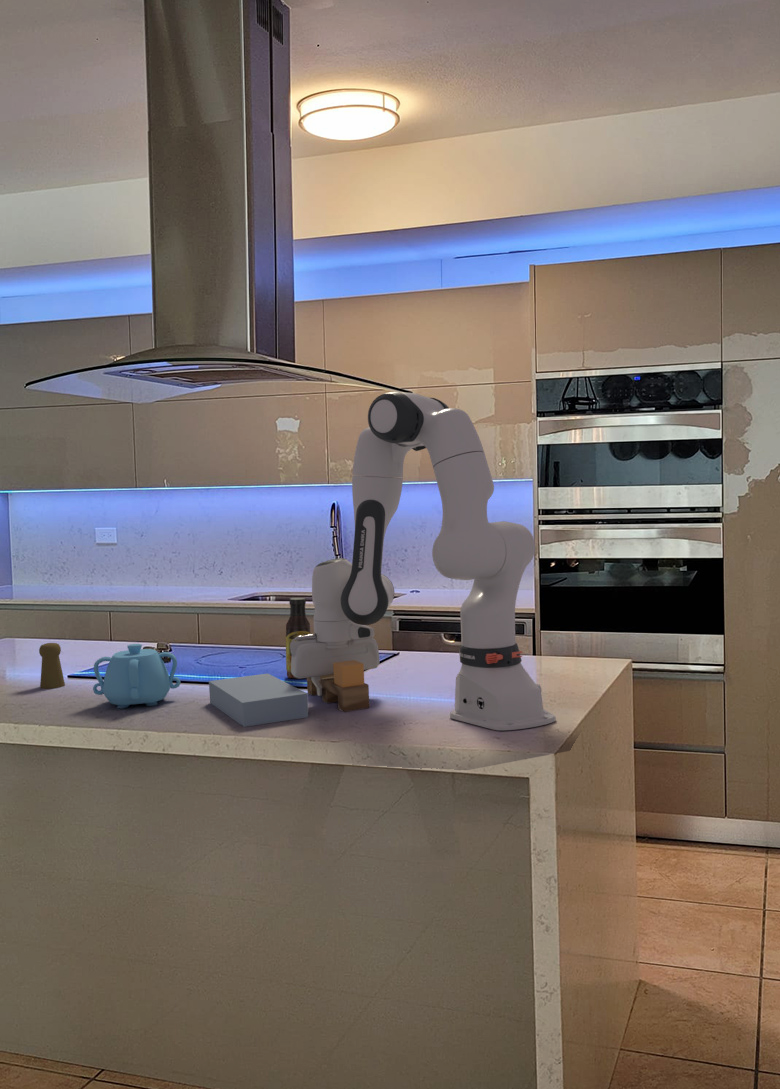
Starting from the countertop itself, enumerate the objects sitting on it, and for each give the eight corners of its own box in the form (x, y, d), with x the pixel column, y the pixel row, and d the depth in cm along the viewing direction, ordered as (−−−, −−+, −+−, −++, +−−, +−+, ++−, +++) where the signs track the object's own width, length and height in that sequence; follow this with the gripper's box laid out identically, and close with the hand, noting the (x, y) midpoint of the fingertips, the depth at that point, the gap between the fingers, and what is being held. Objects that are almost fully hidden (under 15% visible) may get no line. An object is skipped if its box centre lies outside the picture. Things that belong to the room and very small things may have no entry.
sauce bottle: (289, 680, 251) (284, 600, 250) (284, 676, 257) (280, 598, 256) (315, 677, 253) (311, 598, 251) (309, 673, 259) (305, 596, 257)
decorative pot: (188, 700, 235) (185, 641, 234) (130, 714, 223) (126, 652, 222) (146, 692, 245) (142, 636, 245) (87, 705, 233) (84, 647, 232)
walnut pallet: (369, 707, 218) (368, 684, 218) (343, 711, 216) (342, 688, 215) (331, 689, 238) (330, 668, 238) (307, 693, 236) (306, 671, 235)
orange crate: (364, 684, 219) (363, 663, 218) (342, 687, 216) (341, 666, 216) (355, 680, 223) (354, 660, 223) (334, 683, 221) (333, 662, 221)
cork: (57, 688, 254) (54, 645, 253) (35, 688, 255) (32, 645, 255) (69, 683, 260) (66, 641, 259) (48, 683, 261) (45, 641, 260)
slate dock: (308, 717, 212) (307, 693, 212) (243, 726, 207) (242, 702, 206) (269, 694, 236) (267, 673, 236) (210, 702, 230) (208, 681, 230)
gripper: (294, 638, 219) (298, 702, 220) (380, 628, 227) (383, 689, 228) (284, 635, 224) (288, 696, 225) (369, 625, 233) (372, 684, 234)
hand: (337, 693), depth 227 cm, fingers closed on walnut pallet, 6 cm apart
